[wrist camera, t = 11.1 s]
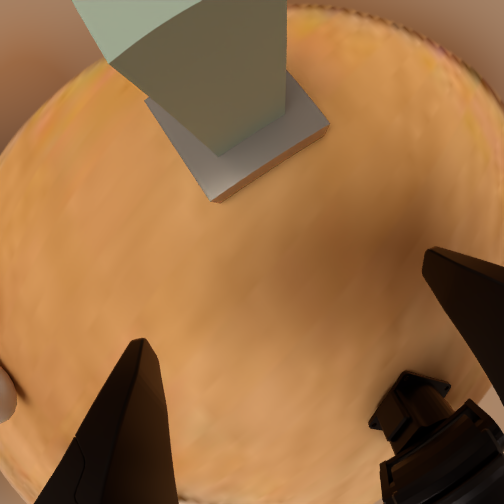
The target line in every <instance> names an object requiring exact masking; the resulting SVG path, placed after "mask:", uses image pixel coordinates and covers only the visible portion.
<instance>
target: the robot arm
mask: <svg viewBox="0 0 504 504" xmlns="http://www.w3.org/2000/svg"><path fill="white" fill-rule="evenodd" d="M422 275H423V277H424V278H425V280H426V282H427V283H428V285H429V286H430V288H431V290H432V291H433V293H434V294H435V296H436V298H437V299H438V301H439V303H440V304H441V306H442V308H443V309H444V311H445V312H446V314H447V315H448V316H449V318H450V319H451V321H452V322H453V324H454V325H455V326H456V328H457V329H458V331H459V332H460V334H461V335H462V337H463V338H464V340H465V341H466V343H467V344H468V346H469V347H470V349H471V350H472V352H473V354H474V355H475V357H476V358H477V360H478V361H479V363H480V365H481V366H482V368H483V370H484V371H485V373H486V375H487V376H488V378H489V380H490V382H491V383H492V385H493V387H494V389H495V390H496V392H497V394H498V396H499V398H500V400H501V402H502V404H503V406H504V267H503V266H500V265H496V264H493V263H490V262H487V261H484V260H481V259H477V258H474V257H471V256H468V255H464V254H461V253H457V252H454V251H451V250H447V249H444V248H440V247H432V248H429V249H427V250H426V252H425V255H424V260H423V266H422ZM405 376H407V377H406V378H405ZM450 388H451V385H450V384H449V383H448V382H445V381H442V380H438V379H434V378H430V377H426V376H423V375H419V374H416V373H412V372H409V371H405V372H403V373H402V374H401V375H400V377H399V379H398V380H397V382H396V383H395V385H394V386H393V388H392V390H391V391H390V392H389V393H388V395H387V396H386V398H385V399H384V401H383V402H382V404H381V405H380V407H379V408H378V410H377V411H376V413H375V414H374V416H373V417H372V418H371V420H370V421H369V423H368V425H369V427H370V428H371V429H376V430H382V431H383V432H384V435H385V437H386V439H387V441H389V442H390V444H391V446H392V449H393V451H394V454H395V456H394V457H392V458H391V459H389V460H387V461H386V460H385V461H384V462H382V463H380V480H381V490H382V500H383V504H504V453H503V452H504V434H503V432H502V431H501V429H500V428H499V426H498V425H497V424H496V423H495V421H494V420H493V419H492V418H491V417H490V416H489V415H488V414H487V413H486V412H485V411H483V410H482V409H481V408H480V407H479V406H478V405H477V404H475V403H474V402H473V401H472V400H471V399H470V398H469V399H468V400H467V401H466V402H465V403H464V405H463V406H461V407H460V408H459V409H458V410H457V411H456V412H455V411H454V410H453V409H452V408H451V406H450V405H449V404H448V402H447V401H446V400H445V399H444V397H445V396H446V394H447V393H448V391H449V390H450ZM373 423H375V424H373ZM75 436H76V437H74V438H73V440H72V442H71V443H70V445H69V447H68V449H67V451H66V452H65V454H64V456H63V458H62V460H61V461H60V463H59V465H58V466H57V468H56V469H55V471H54V473H53V474H52V476H51V478H50V479H49V481H48V482H47V484H46V485H45V487H44V488H43V490H42V492H41V493H40V495H39V496H38V498H37V499H36V501H35V503H34V504H179V502H178V496H177V490H176V484H175V477H174V469H173V462H172V453H171V444H170V435H169V424H168V413H167V405H166V400H165V394H164V389H163V383H162V378H161V372H160V365H159V360H158V358H157V355H156V354H155V352H154V351H153V349H152V347H151V346H150V344H149V342H148V341H147V340H146V339H145V338H139V339H134V340H132V341H131V342H130V343H129V345H128V346H127V348H126V349H125V351H124V353H123V354H122V356H121V357H120V359H119V361H118V362H117V364H116V365H115V367H114V369H113V370H112V372H111V374H110V375H109V377H108V379H107V380H106V382H105V384H104V385H103V387H102V389H101V390H100V392H99V394H98V396H97V397H96V399H95V401H94V402H93V404H92V406H91V408H90V409H89V411H88V413H87V415H86V416H85V418H84V420H83V422H82V424H81V425H80V427H79V429H78V431H77V433H76V434H75Z"/></svg>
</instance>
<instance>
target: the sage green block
mask: <svg viewBox="0 0 504 504" xmlns="http://www.w3.org/2000/svg"><path fill="white" fill-rule="evenodd" d="M72 2H73V4H74V5H75V7H76V9H77V11H78V12H79V14H80V16H81V18H82V19H83V21H84V23H85V25H86V26H87V28H88V29H89V31H90V33H91V35H92V37H93V38H94V40H95V42H96V43H97V45H98V47H99V49H100V50H101V52H102V54H103V55H104V57H105V59H106V60H107V62H108V64H109V65H111V66H112V67H113V68H114V69H116V70H117V71H118V72H119V73H121V74H122V75H123V76H124V77H126V78H127V79H128V80H129V81H131V82H132V83H133V84H134V85H135V86H137V87H138V88H139V89H140V90H142V91H143V92H144V93H145V94H146V95H148V96H149V97H150V98H151V99H152V100H154V101H155V102H156V103H157V104H158V105H159V106H161V107H162V108H163V109H164V110H165V111H167V112H168V113H169V114H170V115H171V116H172V117H174V118H175V119H176V120H177V121H178V122H179V123H180V124H182V125H183V126H184V127H185V128H186V129H187V130H188V131H190V132H191V133H192V134H193V135H194V136H195V137H196V138H198V139H199V140H200V141H201V142H202V143H203V144H204V145H205V146H206V147H208V148H209V149H210V150H211V151H212V152H213V153H214V154H215V155H216V156H218V157H219V156H221V155H222V154H223V153H225V152H226V151H228V150H229V149H231V148H232V147H234V146H235V145H237V144H238V143H240V142H241V141H243V140H244V139H246V138H248V137H249V136H251V135H252V134H254V133H255V132H257V131H258V130H260V129H262V128H263V127H265V126H266V125H268V124H270V123H271V122H273V121H275V120H276V119H278V118H280V117H281V116H283V115H285V96H286V49H287V0H72Z"/></svg>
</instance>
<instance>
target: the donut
mask: <svg viewBox="0 0 504 504" xmlns="http://www.w3.org/2000/svg"><path fill="white" fill-rule="evenodd" d="M16 405H17V394H16V390H15V387H14V384H13V382H12V380H11V379H10V377H9V375H8V374H7V373H6V372H5V371H4V370H3V368H2V367H1V366H0V423H3V422H5V421H7V420H9V418H10V417H11V416H12V415H13V413H14V412H15V409H16Z"/></svg>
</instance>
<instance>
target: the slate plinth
mask: <svg viewBox="0 0 504 504" xmlns="http://www.w3.org/2000/svg"><path fill="white" fill-rule="evenodd" d="M144 101H145V103H146V104H147V106H148V107H149V109H150V110H151V112H152V114H153V115H154V117H155V118H156V120H157V121H158V123H159V124H160V126H161V127H162V129H163V130H164V132H165V134H166V135H167V137H168V138H169V140H170V141H171V143H172V144H173V146H174V147H175V149H176V150H177V152H178V153H179V155H180V156H181V158H182V159H183V161H184V163H185V164H186V166H187V167H188V169H189V170H190V172H191V173H192V175H193V176H194V178H195V179H196V181H197V182H198V184H199V185H200V187H201V188H202V190H203V191H204V193H205V194H206V196H207V197H208V199H209V201H210V202H216V203H221V202H223V201H224V200H226V199H227V198H229V197H230V196H231V195H233V194H234V193H236V192H237V191H239V190H240V189H242V188H243V187H245V186H246V185H248V184H249V183H251V182H252V181H254V180H255V179H257V178H258V177H260V176H261V175H263V174H264V173H266V172H267V171H269V170H270V169H272V168H273V167H275V166H276V165H278V164H280V163H281V162H283V161H284V160H286V159H287V158H289V157H290V156H292V155H294V154H295V153H297V152H298V151H300V150H302V149H303V148H305V147H306V146H308V145H310V144H311V143H313V142H315V141H316V140H318V139H319V138H321V137H323V136H324V134H325V132H326V130H327V129H328V127H329V125H330V123H329V122H328V120H327V119H326V118H325V116H324V115H323V114H322V112H321V111H320V110H319V109H318V107H317V106H316V105H315V103H314V102H313V101H312V100H311V98H310V97H309V96H308V95H307V94H306V92H305V91H304V90H303V89H302V87H301V86H300V85H299V84H298V83H297V82H296V80H295V79H294V78H293V77H292V76H291V75H290V73H289V72H288V71H287V70H286V96H285V115H283V116H281V117H280V118H278V119H276V120H275V121H273V122H271V123H270V124H268V125H266V126H265V127H263V128H262V129H260V130H258V131H257V132H255V133H254V134H252V135H251V136H249V137H248V138H246V139H244V140H243V141H241V142H240V143H238V144H237V145H235V146H234V147H232V148H231V149H229V150H228V151H226V152H225V153H223V154H222V155H221V156H219V157H218V156H216V155H215V154H214V153H213V152H212V151H211V150H210V149H209V148H208V147H206V146H205V145H204V144H203V143H202V142H201V141H200V140H199V139H198V138H196V137H195V136H194V135H193V134H192V133H191V132H190V131H188V130H187V129H186V128H185V127H184V126H183V125H182V124H180V123H179V122H178V121H177V120H176V119H175V118H174V117H172V116H171V115H170V114H169V113H168V112H167V111H165V110H164V109H163V108H162V107H161V106H159V105H158V104H157V103H156V102H155V101H154V100H152V99H151V98H150V97H148V98H147V99H146V100H144Z"/></svg>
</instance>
